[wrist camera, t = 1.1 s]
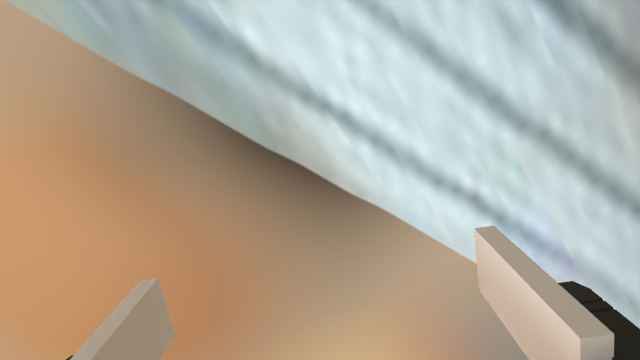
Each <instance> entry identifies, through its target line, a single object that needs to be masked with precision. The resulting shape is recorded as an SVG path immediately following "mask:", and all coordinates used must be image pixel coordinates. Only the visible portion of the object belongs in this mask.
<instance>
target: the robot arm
mask: <svg viewBox="0 0 640 360" xmlns="http://www.w3.org/2000/svg"><path fill="white" fill-rule="evenodd" d="M474 231H475V244H476V257H477V269H478V283H479V290H480V291H481V293H482V294H483V296H484V297H485V298H486V300H487V301H488V303H489V304H490V305H491V307H492V308H493V310H494V311H495V312H496V314H497V315H498V317H499V318H500V319H501V321H502V322H503V324H504V325H505V326H506V328H507V329H508V331H509V332H510V333H511V335H512V336H513V338H514V339H515V340H516V342H517V343H518V345H519V346H520V347H521V349H522V350H523V352H524V353H525V354H526V356H527V357H528V359H529V360H640V329H639V328H638V327H636V326H635V325H634V324H633V323H631V322H630V321H629V320H628V319H627V318H625V317H624V316H623V315H622V314H620V313H619V312H618V311H617V310H614V309H613V307H612V306H611V305H609V304H608V303H607V302H606V301H603V299H602V298H601V297H599V296H598V295H597V294H596V293H594V292H593V291H592V290H591V289H589V288H587V287H585V286H582V285H580V284H578V283H576V282H573V281H570V282H563V283H557V282H556V281H555V280H554V279H553V278H551V277H550V276H549V275H548V274H547V273H546V272H545V271H544V270H542V269H541V268H540V267H539V266H538V265H537V264H536V263H535V262H534V261H532V260H531V259H530V258H529V257H528V256H527V255H526V254H525V253H524V252H522V251H521V250H520V249H519V248H518V247H517V246H516V245H515V244H514V243H512V242H511V241H510V240H509V239H508V238H507V237H506V236H505V235H504V234H502V233H501V232H500V231H499V230H498V229H497V228H496V227H495V226H488V227H482V228H475V229H474ZM175 334H176V333H175V330H174V327H173V324H172V321H171V318H170V315H169V311H168V308H167V305H166V302H165V299H164V296H163V293H162V290H161V286H160V283H159V280H158V278H156V279H149V280H143V281H140V282H139V283H138V284H137V285H136V287H135V288H134V289H133V290H132V291H131V292H130V293H129V294H128V295H127V296H126V298H125V299H124V300H123V301H122V302H121V303H120V304H119V305H118V307H117V308H116V309H115V310H114V311H113V312H112V313H111V314H110V315H109V317H108V318H107V319H106V320H105V321H104V322H103V323H102V324H101V325H100V327H99V328H98V329H97V330H96V331H95V332H94V333H93V334H92V336H91V337H90V338H89V339H88V340H87V341H86V342H85V343H84V345H83V346H82V347H81V348H80V349H79V350H78V351H77V352H76V353H75V355H72V356H70V357H69V358H68V359H66V360H161V359H162V357H163V355H164V353H165V352H166V350H167V348H168V347H169V345H170V343H171V341H172V340H173V338H174V336H175Z"/></svg>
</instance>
